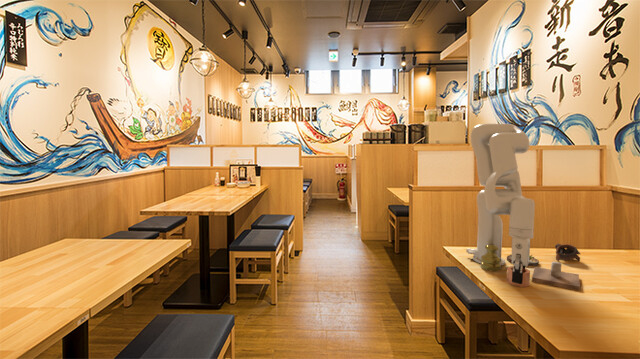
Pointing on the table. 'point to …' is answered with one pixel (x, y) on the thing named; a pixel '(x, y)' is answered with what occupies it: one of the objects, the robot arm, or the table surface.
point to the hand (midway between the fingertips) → (518, 278)
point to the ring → (525, 277)
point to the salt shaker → (491, 259)
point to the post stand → (556, 277)
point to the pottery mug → (566, 252)
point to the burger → (531, 260)
